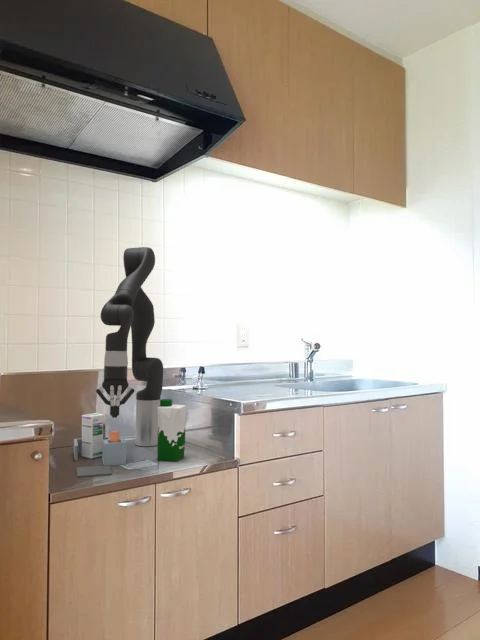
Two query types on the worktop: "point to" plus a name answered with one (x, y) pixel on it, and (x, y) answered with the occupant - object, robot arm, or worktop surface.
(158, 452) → the milk carton
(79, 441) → the grey u-shaped frame
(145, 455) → the worktop surface
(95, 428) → the syrup box
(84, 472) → the mat
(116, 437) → the plunger
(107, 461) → the grey square socket
